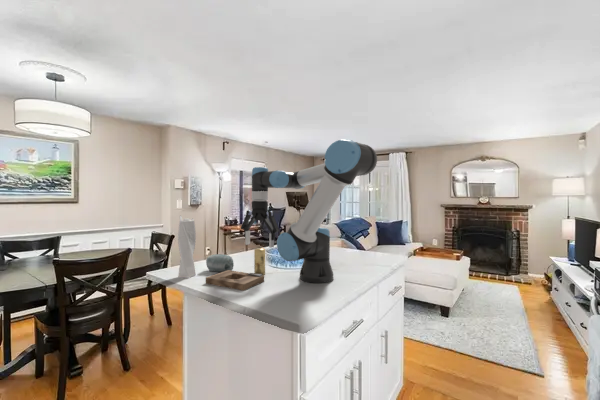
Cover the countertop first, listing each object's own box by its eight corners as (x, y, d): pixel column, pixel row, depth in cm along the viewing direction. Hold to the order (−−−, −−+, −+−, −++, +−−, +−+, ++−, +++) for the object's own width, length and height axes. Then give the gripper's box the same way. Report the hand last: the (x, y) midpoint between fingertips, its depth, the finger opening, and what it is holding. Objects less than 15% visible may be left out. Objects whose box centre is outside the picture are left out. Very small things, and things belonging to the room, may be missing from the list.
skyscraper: (173, 277, 130) (173, 215, 130) (184, 273, 138) (184, 214, 137) (188, 279, 128) (188, 215, 128) (199, 274, 135) (199, 214, 135)
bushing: (267, 274, 137) (267, 248, 137) (261, 276, 133) (261, 250, 132) (258, 272, 139) (258, 247, 139) (252, 275, 135) (252, 249, 135)
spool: (239, 262, 146) (230, 247, 142) (231, 275, 137) (222, 259, 134) (218, 266, 150) (208, 251, 147) (209, 279, 142) (199, 264, 139)
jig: (264, 281, 125) (264, 274, 125) (243, 290, 113) (243, 282, 113) (228, 275, 134) (228, 268, 134) (205, 283, 122) (205, 276, 122)
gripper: (286, 201, 133) (286, 247, 134) (243, 199, 145) (243, 242, 145) (278, 201, 126) (277, 249, 127) (233, 200, 138) (233, 244, 138)
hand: (259, 245), depth 136 cm, fingers open, 13 cm apart
